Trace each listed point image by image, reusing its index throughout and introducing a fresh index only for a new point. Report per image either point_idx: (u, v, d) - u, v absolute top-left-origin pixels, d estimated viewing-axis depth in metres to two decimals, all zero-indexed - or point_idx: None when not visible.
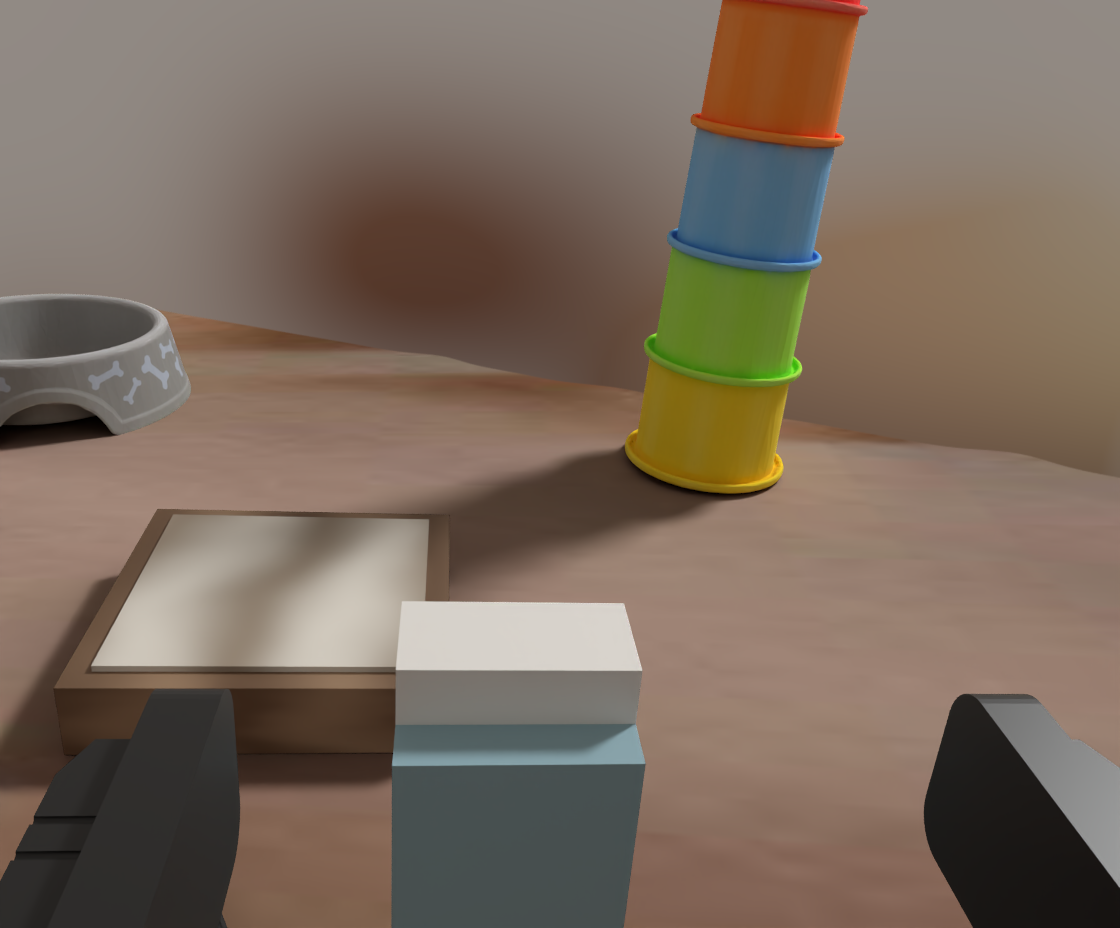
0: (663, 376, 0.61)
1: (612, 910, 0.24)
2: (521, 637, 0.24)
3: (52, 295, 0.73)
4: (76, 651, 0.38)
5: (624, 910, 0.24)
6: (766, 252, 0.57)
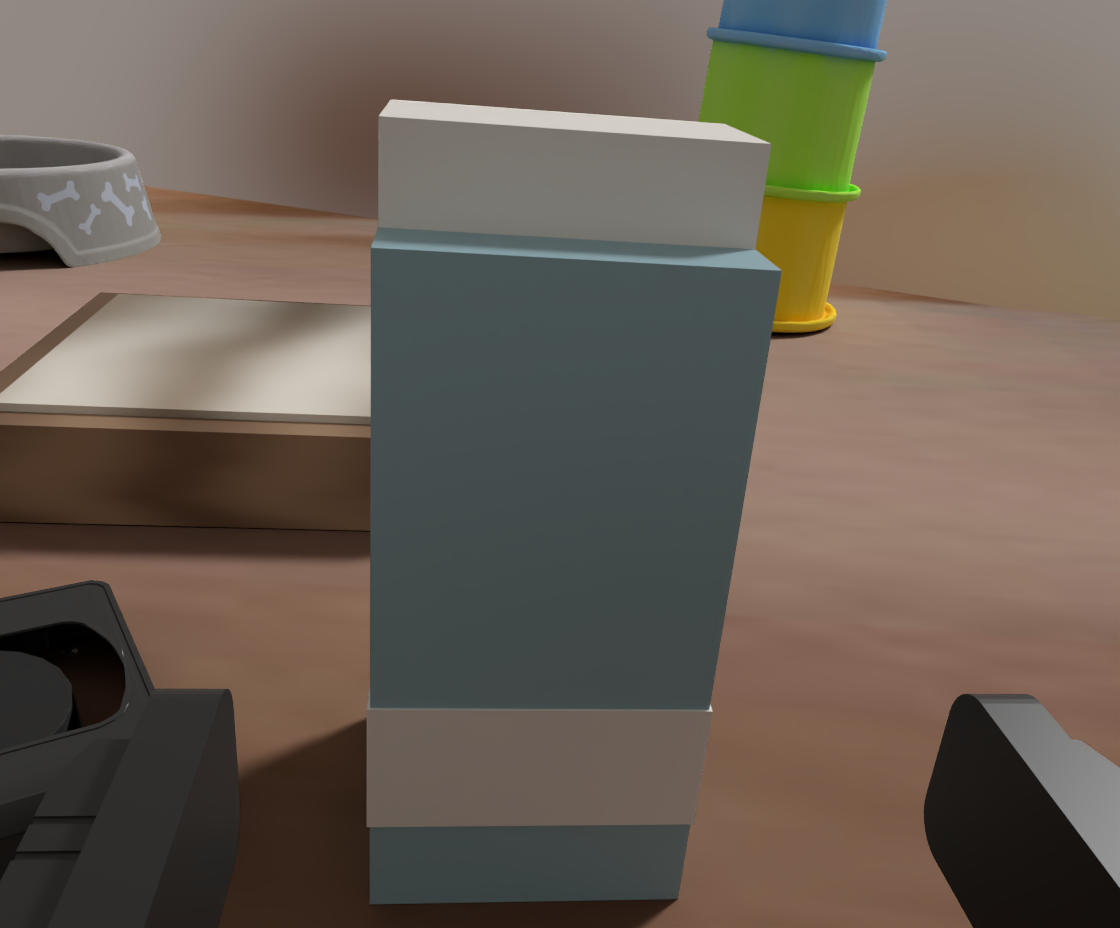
0: None
1: (714, 555, 0.16)
2: (576, 121, 0.15)
3: (6, 136, 0.65)
4: None
5: (732, 555, 0.16)
6: (826, 32, 0.48)
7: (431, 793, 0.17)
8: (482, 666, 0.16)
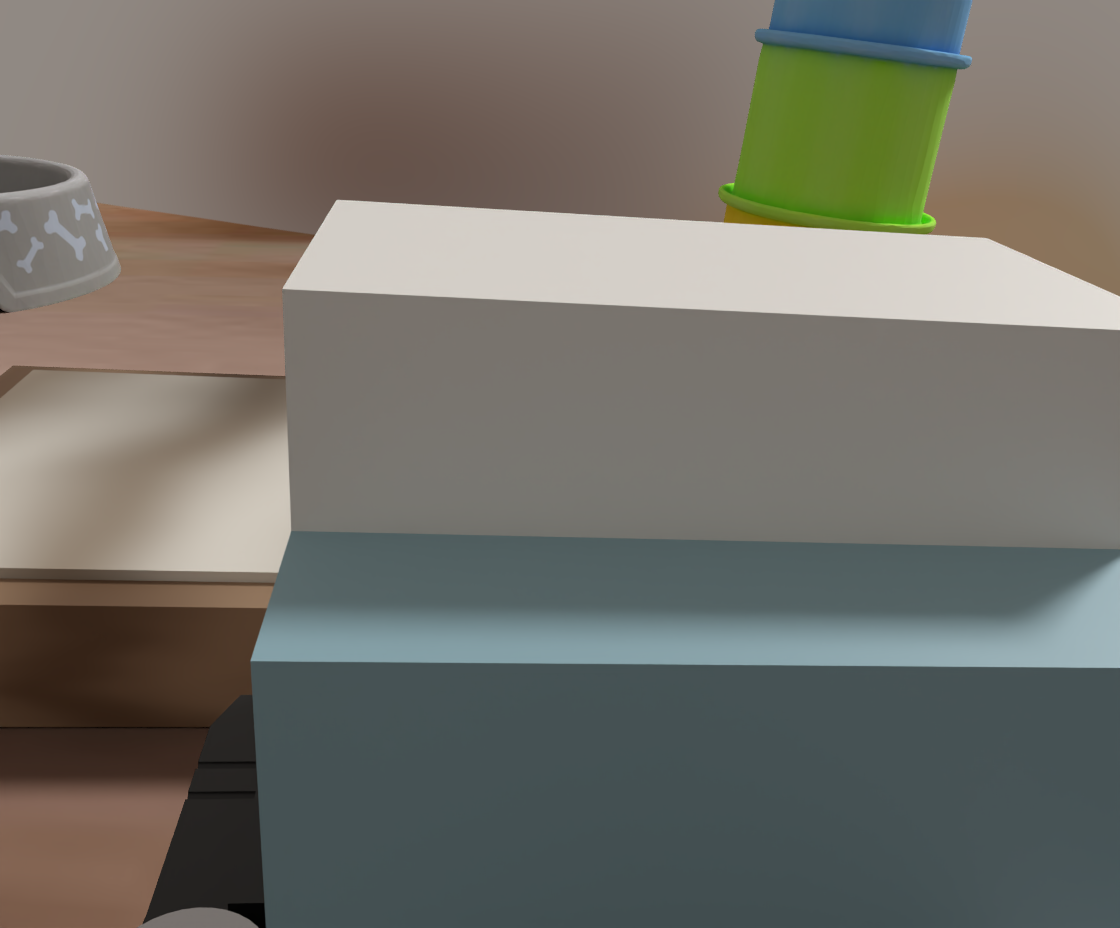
0: None
1: None
2: (730, 262, 0.07)
3: None
4: None
5: None
6: (904, 34, 0.40)
7: None
8: None
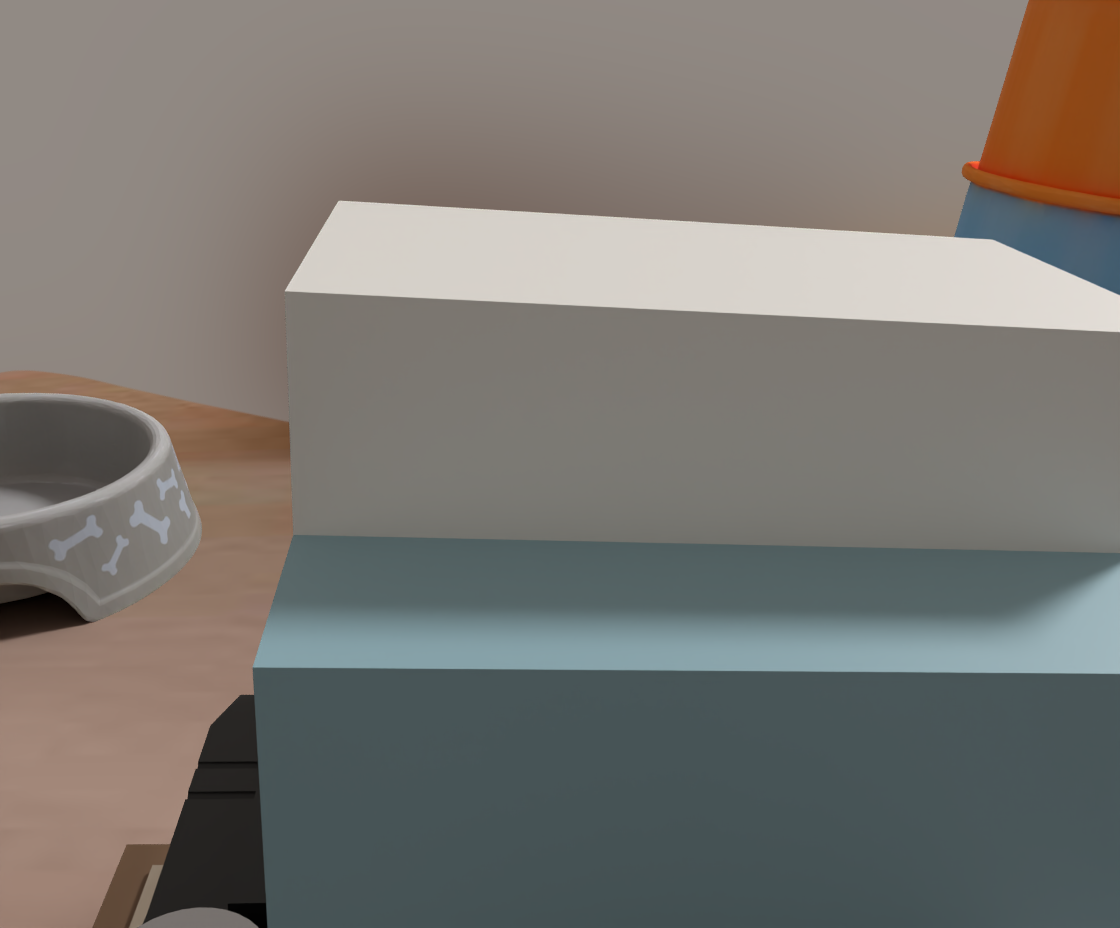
0: None
1: None
2: (735, 264, 0.07)
3: (14, 395, 0.53)
4: None
5: None
6: None
7: None
8: None
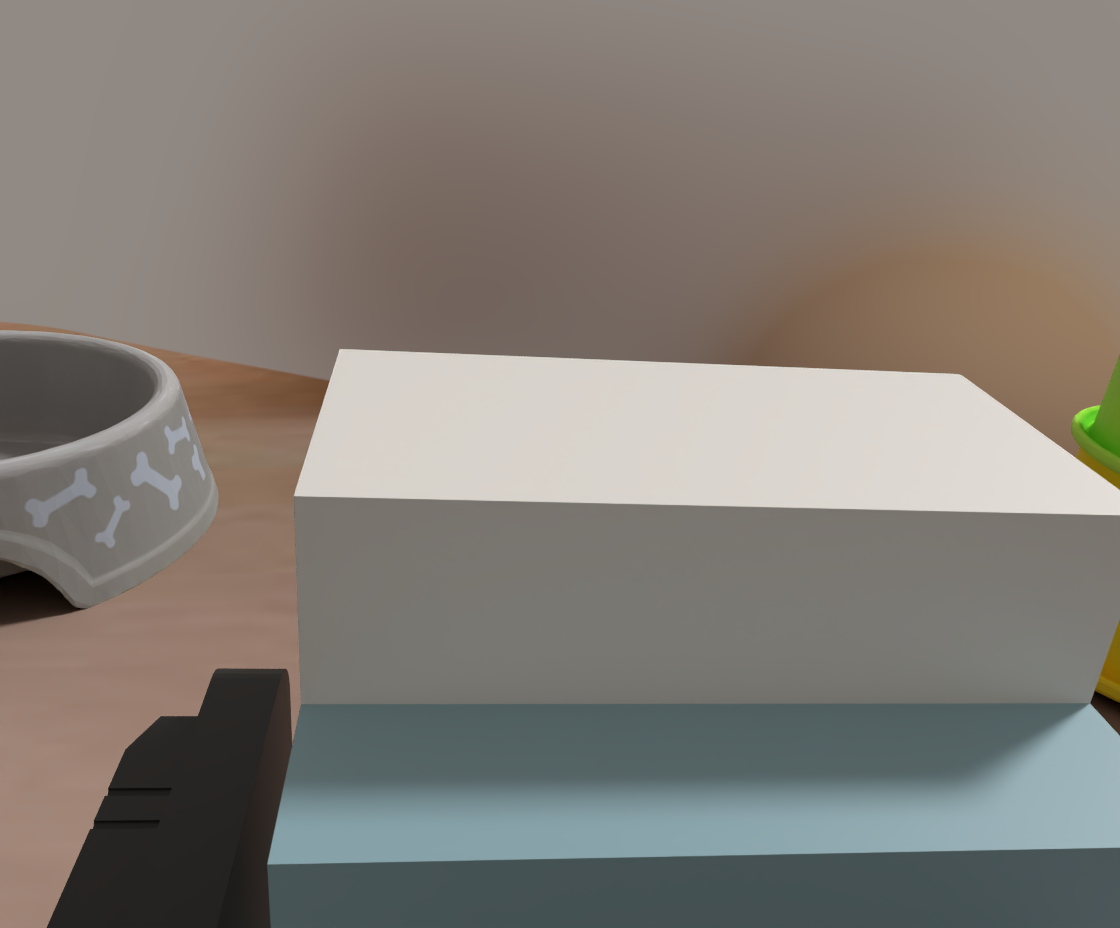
0: None
1: None
2: (713, 428, 0.07)
3: None
4: None
5: None
6: None
7: None
8: None
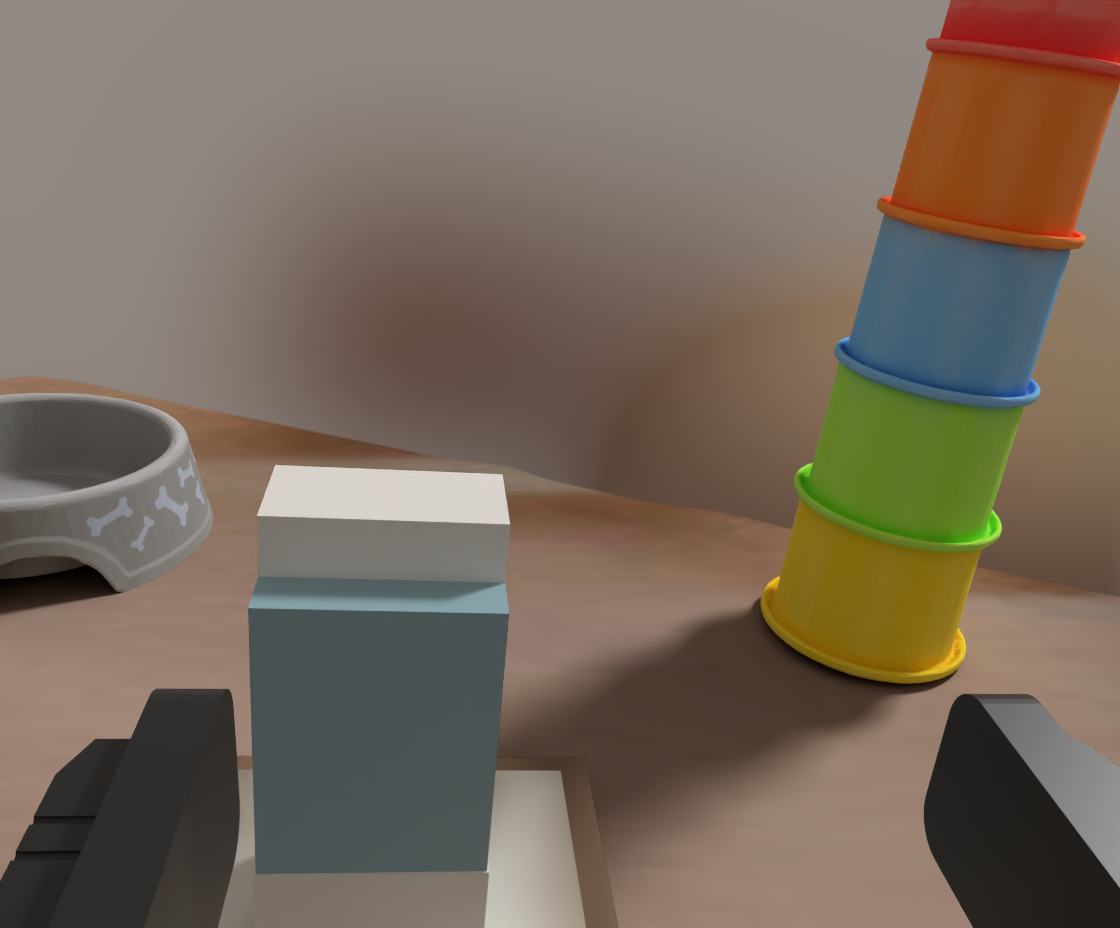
0: (827, 531, 0.47)
1: (481, 776, 0.24)
2: (392, 495, 0.24)
3: (41, 395, 0.59)
4: None
5: (493, 776, 0.24)
6: (983, 383, 0.43)
7: (299, 927, 0.25)
8: (330, 846, 0.24)
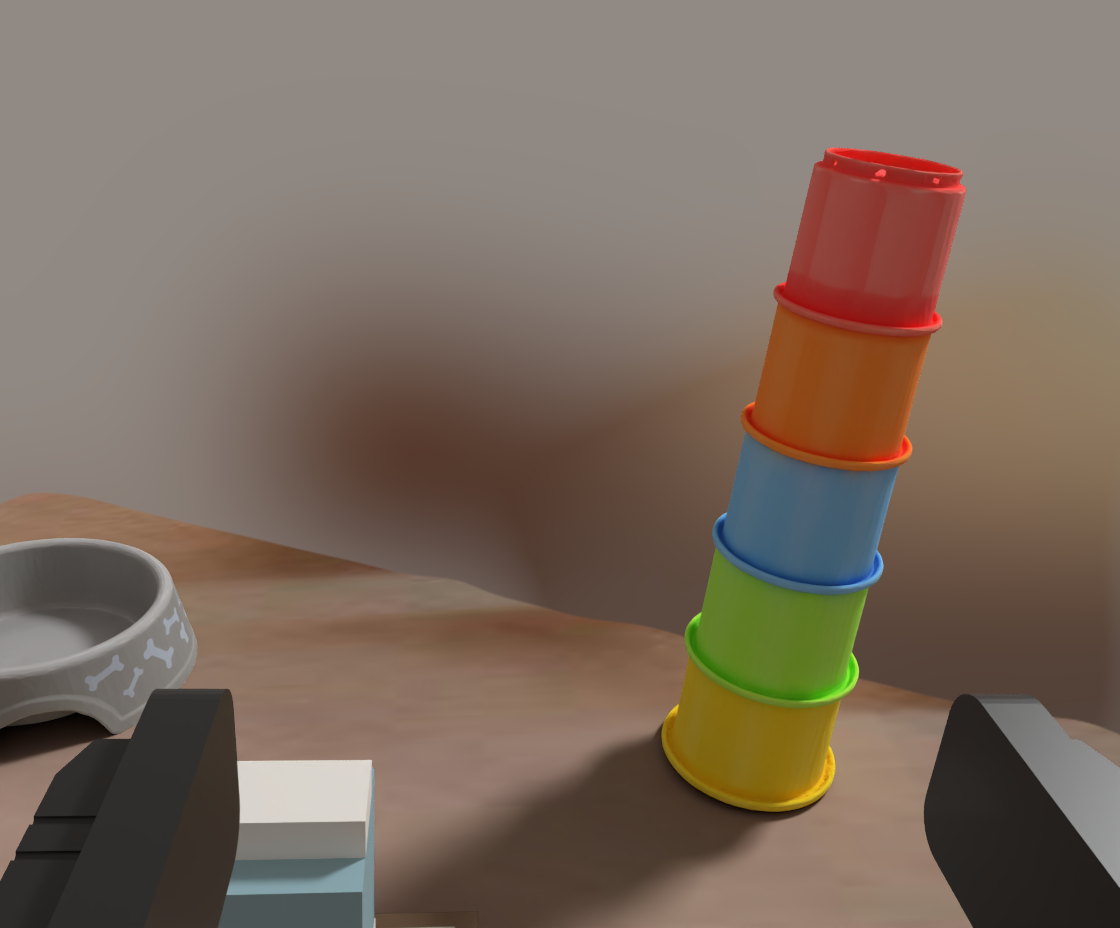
0: (707, 684, 0.56)
1: None
2: (283, 793, 0.32)
3: (48, 541, 0.68)
4: None
5: None
6: (826, 574, 0.51)
7: None
8: None
